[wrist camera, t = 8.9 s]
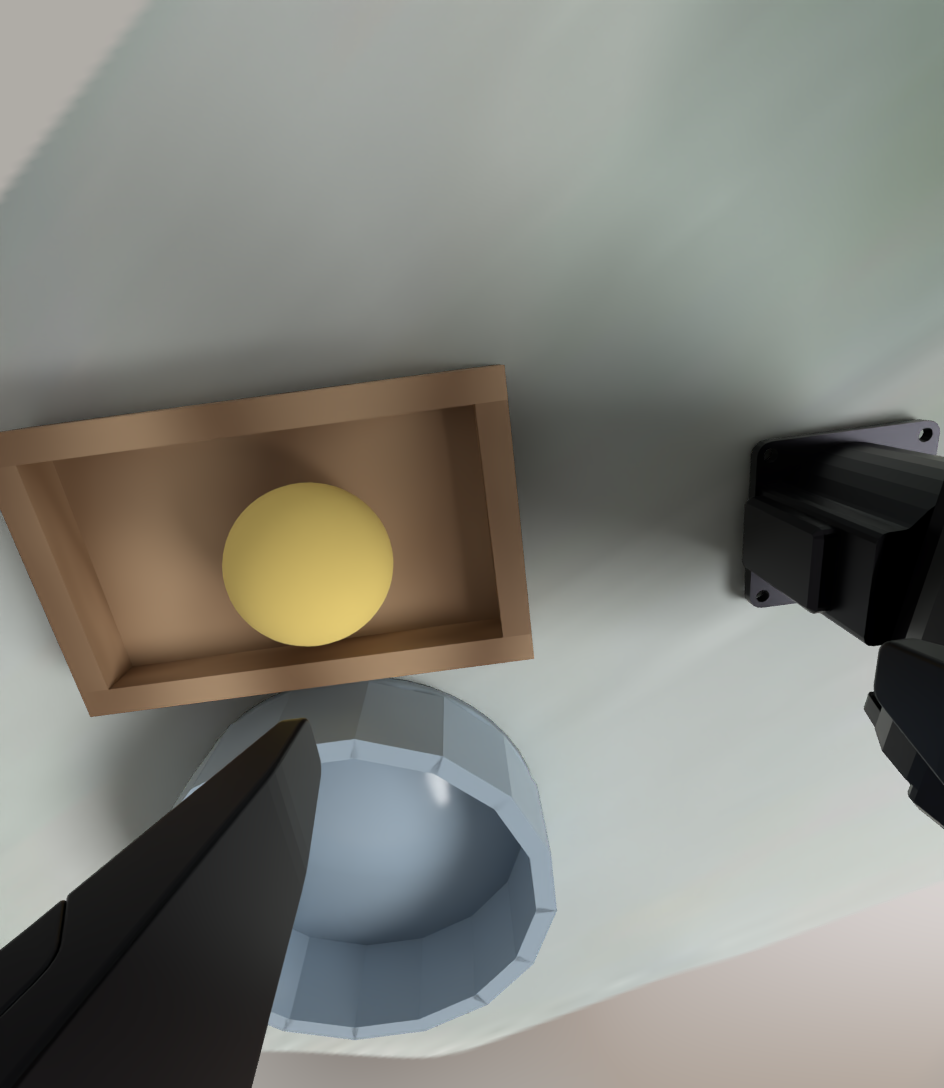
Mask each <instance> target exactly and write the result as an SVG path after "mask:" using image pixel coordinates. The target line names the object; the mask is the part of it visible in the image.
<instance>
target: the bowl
mask: <svg viewBox="0 0 944 1088" xmlns="http://www.w3.org/2000/svg"><path fill="white" fill-rule="evenodd" d="M296 718H306V719H307V720H309V722H310V724H311V727H312V730H313V734H314V738H315V741H316V745H317V749H318V752H319V756H320V760H321V780H320V786H319V793H318V800H317V807H316V814H315V820H314V827H313V834H312V841H311V848H310V854H309V861H308V866H307V872H306V877H305V881H304V885H303V890H302V894H301V898H300V902H299V905H298V909H297V913H296V917H295V921H294V925H293V929H292V933H291V937H290V940H289V944H288V948H287V952H286V956H285V960H284V964H283V968H282V972H281V975H280V979H279V983H278V987H277V991H276V995H275V999H274V1003H273V1006H272V1010H271V1014H270V1018H269V1022H268V1025H270V1026H272V1027H275V1028H277V1029H279V1030H282V1031H287V1032H295V1033H303V1034H311V1035H319V1036H327V1037H335V1038H343V1039H351V1040H358V1039H366V1038H374V1037H382V1036H389V1035H397V1034H405V1033H413V1032H421V1031H426V1030H429V1029H431V1028H433V1027H436V1026H438V1025H440V1024H443V1023H445V1022H447V1021H450V1020H452V1019H455V1018H457V1017H459V1016H462V1015H464V1014H466V1013H469V1012H471V1011H474V1010H476V1009H478V1008H481V1007H483V1006H485V1005H488V1004H489V1003H490V1002H491V1001H492V1000H493V999H494V998H495V997H497V996H498V995H499V994H500V993H501V992H502V991H503V990H504V989H506V988H507V987H508V986H509V985H510V984H511V983H512V982H513V981H515V980H516V979H517V978H518V977H519V976H520V975H521V974H522V973H524V972H525V971H526V970H527V969H528V968H529V967H530V966H531V965H533V964H534V961H535V959H536V957H537V954H538V952H539V950H540V948H541V945H542V943H543V941H544V939H545V936H546V934H547V932H548V929H549V927H550V925H551V923H552V920H553V918H554V916H555V914H556V911H557V908H556V898H555V888H554V879H553V869H552V859H551V851H550V846H549V841H548V836H547V831H546V826H545V822H544V817H543V812H542V807H541V802H540V797H539V792H538V787H537V784H536V782H535V781H534V780H533V778H532V776H531V774H530V771H529V768H528V766H527V764H526V762H525V761H524V759H523V757H522V755H521V754H520V752H519V750H518V749H517V748H516V746H515V745H514V744H513V742H512V741H511V740H510V739H509V737H508V736H507V735H506V734H505V733H504V732H503V731H502V730H501V729H500V728H499V727H498V726H497V725H496V724H495V723H494V722H493V721H492V720H490V719H489V718H488V717H486V716H485V715H483V714H482V713H481V712H479V711H478V710H477V709H475V708H474V707H472V706H470V705H468V704H467V703H465V702H463V701H461V700H459V699H458V698H456V697H454V696H452V695H449V694H447V693H444V692H442V691H439V690H437V689H434V688H432V687H428V686H424V685H420V684H417V683H413V682H409V681H404V680H397V679H391V678H383V679H375V680H368V681H360V682H353V683H345V684H337V685H330V686H322V687H315V688H307V689H299V690H292V691H284V692H282V693H279V694H277V695H275V696H273V697H271V698H269V699H266V700H265V701H263V702H261V703H260V704H258V705H257V706H255V707H253V708H252V709H250V710H249V711H247V712H246V713H245V714H243V715H242V716H241V717H240V718H239V719H238V720H236V721H235V722H234V723H233V724H232V725H230V726H229V727H228V728H227V730H226V731H225V732H224V733H223V735H222V736H221V737H220V738H219V739H218V740H217V742H216V743H215V745H214V746H213V748H212V750H211V751H210V752H209V754H208V755H207V756H206V758H205V759H204V760H203V762H202V763H201V764H200V766H199V767H198V768H197V770H196V771H195V772H194V774H193V775H192V777H191V778H190V780H189V782H188V783H187V785H186V786H185V788H184V790H183V791H182V793H181V794H180V796H179V798H178V799H177V801H176V802H175V804H174V806H173V807H172V809H173V808H175V807H176V806H177V805H178V804H180V803H181V802H182V801H183V800H184V799H186V798H187V797H188V796H189V795H191V794H192V793H193V792H194V791H195V790H197V789H198V788H199V787H200V786H202V785H203V784H204V783H205V782H206V781H208V780H209V779H210V778H211V777H212V776H214V775H215V774H216V773H217V772H219V771H220V770H221V769H222V768H223V767H225V766H226V765H227V764H228V763H230V762H231V761H232V760H233V759H234V758H236V757H237V756H238V755H239V754H241V753H242V752H243V751H244V750H245V749H247V748H248V747H249V746H250V745H251V744H253V743H254V742H255V741H256V740H258V739H259V738H260V737H261V736H262V735H264V734H265V733H266V732H267V731H269V730H270V729H271V728H272V727H273V726H275V725H276V724H277V723H278V722H280V721H282V720H289V719H296ZM172 809H171V810H172Z"/></svg>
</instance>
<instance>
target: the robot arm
mask: <svg viewBox="0 0 944 1088" xmlns="http://www.w3.org/2000/svg"><path fill="white" fill-rule="evenodd" d="M922 430H923V432H924V433H923V435H922V437H921V438H920V439H919V437H918V436H919V433H920V431H922ZM939 435H940V428H939V426H938V424H937V423H936V422H934V421H929V420H920V419H918V420H910V421H903V422H895V423H888V424H880V425H873V426H865V427H858V428H850V429H843V430H835V431H828V432H820V433H813V434H805V435H798V436H790V437H783V438H775V439H767V440H763V441H760V442H759V443H758V444H756V445H755V447H754V448H753V450H752V453H751V466H750V488H749V499H748V500H747V502H746V503H745V512H744V534H743V557H742V563H743V565H744V566H745V567H746V573H745V598H746V599H747V601H748V602H750V603H751V604H752V605H753V606H756V607H760V608H763V607H770V606H778V605H785V604H793V603H797V604H799V605H800V606H802V607H803V608H805V609H806V610H807V611H809V612H810V613H813V614H815V613H821V614H823V615H824V616H825V617H827V618H828V619H830V620H831V621H833V622H834V623H836V624H837V625H839V626H840V627H842V628H843V629H845V630H846V631H847V632H849V633H850V634H852V635H853V636H855V637H856V638H858V639H859V640H861V641H862V642H864V643H865V644H867V645H868V646H878V645H881V647H880V648H879V652H878V659H877V666H876V673H875V680H874V692H869V694H868V697H867V700H866V703H865V706H864V710H865V712H866V714H867V715H868V717H869V719H870V720H871V722H872V723H873V725H874V727H875V731H876V734H877V737H878V740H879V743H880V746H881V749H882V751H883V753H884V754H885V755H886V756H887V757H888V759H889V760H890V761H891V762H892V763H893V765H894V766H895V767H896V768H897V769H898V771H899V772H900V773H901V774H902V776H903V777H904V778H905V779H906V780H907V781H908V782H909V783H910V787H909V790H908V796H909V798H910V799H911V800H912V801H913V803H914V804H915V805H916V806H917V807H918V808H919V810H921V811H922V812H923V813H924V814H926V815H927V816H928V817H930V818H931V819H932V820H933V821H935V822H936V823H937V824H938V825H940V826H941V827H942V828H943V829H944V457H942V456H937V455H936V453H937V447H938V441H939ZM768 449H771V451H772V454H771V457H770V458H769V459H767V460H764V454H765V452H766V451H767V450H768ZM762 590H764V591H763V594H762V595H761V596H760V597H757V598H756V596H757V593H758V592H759V591H762ZM320 780H321V760H320V756H319V752H318V749H317V745H316V741H315V738H314V734H313V730H312V727H311V724H310V722H309V720H307V719H306V718H296V719H289V720H282V721H280V722H278V723H277V724H276V725H275V726H273V727H272V728H271V729H270V730H269V731H267V732H266V733H265V734H264V735H262V736H261V737H260V738H259V739H258V740H256V741H255V742H254V743H253V744H251V745H250V746H249V747H248V748H247V749H245V750H244V751H243V752H242V753H241V754H239V755H238V756H237V757H236V758H234V759H233V760H232V761H231V762H230V763H228V764H227V765H226V766H225V767H223V768H222V769H221V770H220V771H219V772H217V773H216V774H215V775H214V776H212V777H211V778H210V779H209V780H208V781H206V782H205V783H204V784H203V785H202V786H200V787H199V788H198V789H197V790H195V791H194V792H193V793H192V794H191V795H189V796H188V797H187V798H186V799H184V800H183V801H182V802H181V803H180V804H178V805H177V806H176V807H175V808H173V809H172V810H171V811H170V812H169V813H167V814H166V815H165V816H164V817H162V818H161V819H160V820H159V821H158V822H156V823H155V824H154V825H153V826H152V827H150V828H149V829H148V830H147V831H145V832H144V833H143V834H142V835H141V836H139V837H138V838H137V839H136V840H134V841H133V842H132V843H131V844H130V845H128V846H127V847H126V848H125V849H123V850H122V851H121V852H120V853H119V854H117V855H116V856H115V857H114V858H112V859H111V860H110V861H109V862H108V863H106V864H105V865H104V866H103V867H101V868H100V869H99V870H98V871H97V872H95V873H94V874H93V875H92V876H90V877H89V878H88V879H87V880H86V881H84V882H83V883H82V884H81V885H80V886H78V887H77V888H76V889H75V890H73V891H72V892H71V893H70V894H69V895H68V896H67V900H66V901H65V900H62V901H60V902H59V903H57V904H56V905H55V906H54V907H53V908H51V909H50V910H49V911H48V912H46V913H45V914H44V915H43V916H42V917H40V918H39V919H38V920H37V921H36V922H34V923H33V924H32V925H31V926H29V927H28V928H27V929H26V930H24V931H23V932H22V933H21V934H19V935H18V936H17V937H16V938H14V939H13V940H12V941H11V942H9V943H8V944H7V945H6V946H4V947H3V948H2V949H1V950H0V1088H252V1084H253V1080H254V1076H255V1072H256V1069H257V1065H258V1061H259V1057H260V1053H261V1049H262V1045H263V1041H264V1038H265V1034H266V1030H267V1026H268V1022H269V1018H270V1014H271V1010H272V1006H273V1003H274V999H275V995H276V991H277V987H278V983H279V979H280V975H281V972H282V968H283V964H284V960H285V956H286V952H287V948H288V944H289V940H290V937H291V933H292V929H293V925H294V921H295V917H296V913H297V909H298V905H299V902H300V898H301V894H302V890H303V885H304V881H305V877H306V872H307V866H308V861H309V854H310V848H311V841H312V834H313V827H314V820H315V814H316V807H317V800H318V793H319V786H320Z"/></svg>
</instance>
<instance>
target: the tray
mask: <svg viewBox="0 0 944 1088" xmlns="http://www.w3.org/2000/svg"><path fill="white" fill-rule="evenodd" d="M309 482H312V483H322V484H327V485H331V486H336V487H338V488H341V489H343V490H346V491H347V492H349V493H351V494H353V495H355V496H356V497H358V498H359V499H361V500H362V501H363V502H365V503H366V504H367V505H368V506H369V507H370V508H371V509H372V510H373V511H374V512H375V514H376V515H377V516H378V518H379V519H380V520H381V522H382V524H383V526H384V527H385V529H386V532H387V534H388V537H389V539H390V543H391V547H392V552H393V575H392V581H391V585H390V588H389V591H388V593H387V596H386V598H385V600H384V602H383V604H382V605H381V607H380V608H379V610H378V611H377V613H376V614H375V615H374V616H373V617H372V619H371V620H370V621H368V622H367V623H366V624H365V625H364V626H363V627H362V628H360V629H359V630H358V631H356V632H355V633H353V634H351V635H350V636H348V637H345V638H343V639H341V640H338V641H335V642H332V643H329V644H325V645H320V646H295V645H289V644H284V643H281V642H278V641H275V640H273V639H271V638H269V637H267V636H265V635H263V634H261V633H259V632H258V631H257V630H255V629H254V628H252V627H251V626H250V625H249V624H248V623H247V622H246V621H245V620H244V619H243V618H242V617H241V616H240V614H239V613H238V612H237V611H236V609H235V608H234V606H233V604H232V602H231V601H230V598H229V596H228V593H227V590H226V588H225V584H224V579H223V572H222V560H223V552H224V547H225V543H226V540H227V537H228V534H229V532H230V530H231V528H232V526H233V525H234V523H235V521H236V520H237V518H238V517H239V516H240V514H241V513H242V512H243V511H244V510H245V509H246V508H247V507H248V506H249V505H250V504H251V503H253V502H254V501H255V500H256V499H258V498H259V497H261V496H262V495H264V494H266V493H268V492H270V491H272V490H274V489H277V488H279V487H283V486H286V485H290V484H296V483H309ZM0 510H1V512H2V515H3V517H4V519H5V521H6V524H7V526H8V528H9V531H10V533H11V535H12V538H13V540H14V542H15V544H16V547H17V549H18V551H19V554H20V556H21V558H22V561H23V563H24V565H25V567H26V570H27V572H28V574H29V577H30V579H31V581H32V584H33V586H34V588H35V590H36V593H37V595H38V597H39V600H40V602H41V604H42V607H43V609H44V611H45V613H46V616H47V618H48V620H49V623H50V625H51V627H52V630H53V632H54V634H55V636H56V639H57V641H58V643H59V646H60V648H61V650H62V653H63V655H64V657H65V659H66V662H67V664H68V666H69V669H70V671H71V673H72V676H73V678H74V680H75V682H76V685H77V687H78V689H79V692H80V694H81V696H82V699H83V701H84V703H85V705H86V708H87V710H88V712H89V715H90V717H94V716H102V715H109V714H117V713H125V712H132V711H140V710H147V709H155V708H163V707H170V706H178V705H185V704H193V703H201V702H208V701H216V700H223V699H231V698H239V697H246V696H254V695H261V694H269V693H277V692H284V691H292V690H299V689H307V688H315V687H322V686H330V685H337V684H345V683H353V682H360V681H368V680H375V679H383V678H391V677H398V676H406V675H413V674H421V673H429V672H436V671H444V670H451V669H459V668H467V667H474V666H482V665H489V664H497V663H505V662H512V661H520V660H527V659H534V653H533V643H532V633H531V623H530V613H529V603H528V594H527V584H526V574H525V564H524V554H523V544H522V534H521V524H520V514H519V504H518V495H517V485H516V475H515V465H514V455H513V445H512V435H511V425H510V415H509V405H508V396H507V386H506V376H505V366H504V365H499V364H497V365H489V366H482V367H474V368H467V369H459V370H452V371H444V372H437V373H429V374H422V375H415V376H407V377H400V378H392V379H385V380H377V381H370V382H362V383H355V384H347V385H340V386H333V387H325V388H318V389H310V390H303V391H295V392H288V393H280V394H273V395H265V396H258V397H251V398H243V399H236V400H228V401H221V402H213V403H206V404H198V405H191V406H183V407H176V408H169V409H161V410H154V411H146V412H139V413H131V414H124V415H116V416H109V417H101V418H94V419H87V420H79V421H72V422H64V423H57V424H49V425H42V426H34V427H28V428H21V429H15V430H9V431H2V432H0Z"/></svg>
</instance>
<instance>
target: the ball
mask: <svg viewBox="0 0 944 1088" xmlns="http://www.w3.org/2000/svg"><path fill="white" fill-rule="evenodd" d="M222 572H223V579H224V584H225V588H226V590H227V593H228V596H229V598H230V601H231V602H232V604H233V606H234V608H235V609H236V611H237V612H238V613H239V614H240V616H241V617H242V618H243V619H244V620H245V621H246V622H247V623H248V624H249V625H250V626H251V627H252V628H254V629H255V630H257V631H258V632H259V633H261V634H263V635H265V636H267V637H269V638H271V639H273V640H275V641H278V642H281V643H284V644H289V645H295V646H320V645H325V644H329V643H332V642H335V641H338V640H341V639H343V638H345V637H348V636H350V635H351V634H353V633H355V632H356V631H358V630H359V629H360V628H362V627H363V626H364V625H365V624H366V623H367V622H368V621H370V620H371V619H372V617H373V616H374V615H375V614H376V613H377V611H378V610H379V608H380V607H381V605H382V604H383V602H384V600H385V598H386V596H387V593H388V591H389V588H390V585H391V581H392V575H393V552H392V547H391V543H390V539H389V537H388V534H387V532H386V529H385V527H384V526H383V524H382V522H381V520H380V519H379V518H378V516H377V515H376V514H375V512H374V511H373V510H372V509H371V508H370V507H369V506H368V505H367V504H366V503H365V502H363V501H362V500H361V499H359V498H358V497H356V496H355V495H353V494H351V493H349V492H347V491H346V490H343V489H341V488H338V487H336V486H331V485H327V484H322V483H312V482H309V483H296V484H290V485H286V486H283V487H279V488H277V489H274V490H272V491H270V492H268V493H266V494H264V495H262V496H261V497H259V498H258V499H256V500H255V501H254V502H253V503H251V504H250V505H249V506H248V507H247V508H246V509H245V510H244V511H243V512H242V513H241V514H240V516H239V517H238V518H237V520H236V521H235V523H234V525H233V526H232V528H231V530H230V532H229V534H228V537H227V540H226V543H225V547H224V552H223V560H222Z"/></svg>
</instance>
